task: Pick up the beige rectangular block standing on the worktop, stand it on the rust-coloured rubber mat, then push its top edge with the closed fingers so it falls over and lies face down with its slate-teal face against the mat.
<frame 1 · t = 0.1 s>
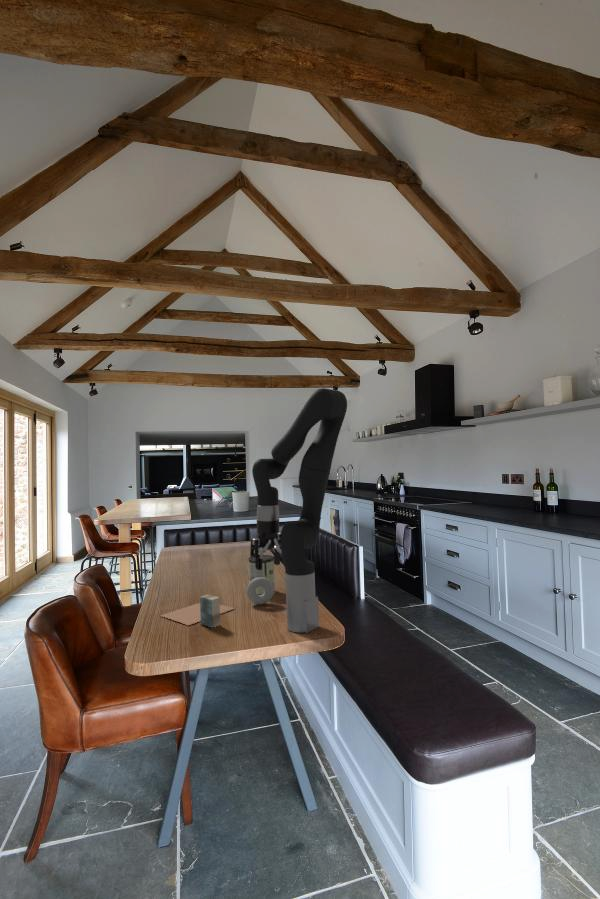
hand: (268, 567, 147), 17 cm above the table, tool pointing down, fingers open, 8 cm apart
beige rectangular block: (210, 625, 144), on the table
mat: (198, 612, 156), on the table
coffee can: (262, 593, 178), on the table
donut: (260, 605, 163), on the table
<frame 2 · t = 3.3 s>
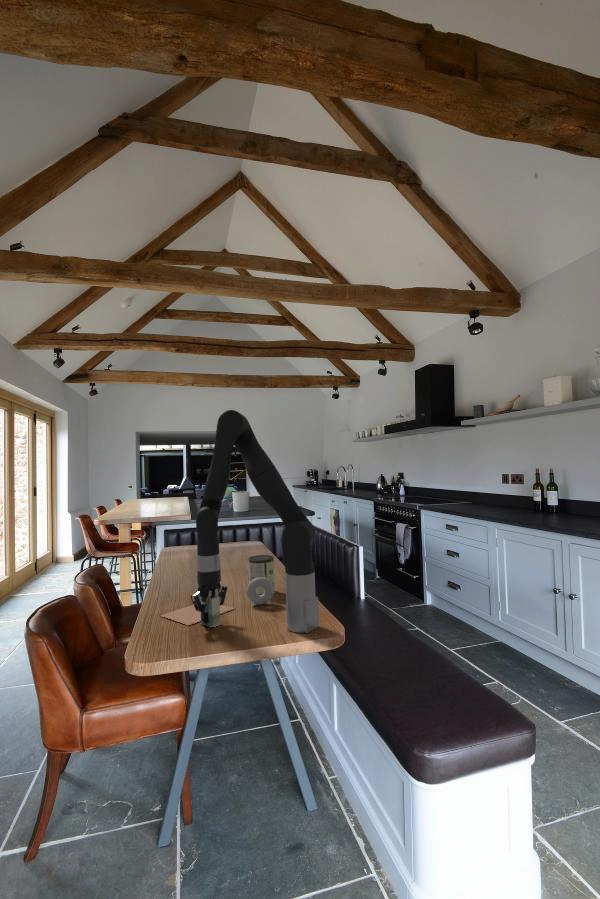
hand: (210, 621, 144), 1 cm above the table, tool pointing down, fingers closed on beige rectangular block, 3 cm apart
beige rectangular block: (210, 624, 144), on the table, touching gripper
everything else where it was.
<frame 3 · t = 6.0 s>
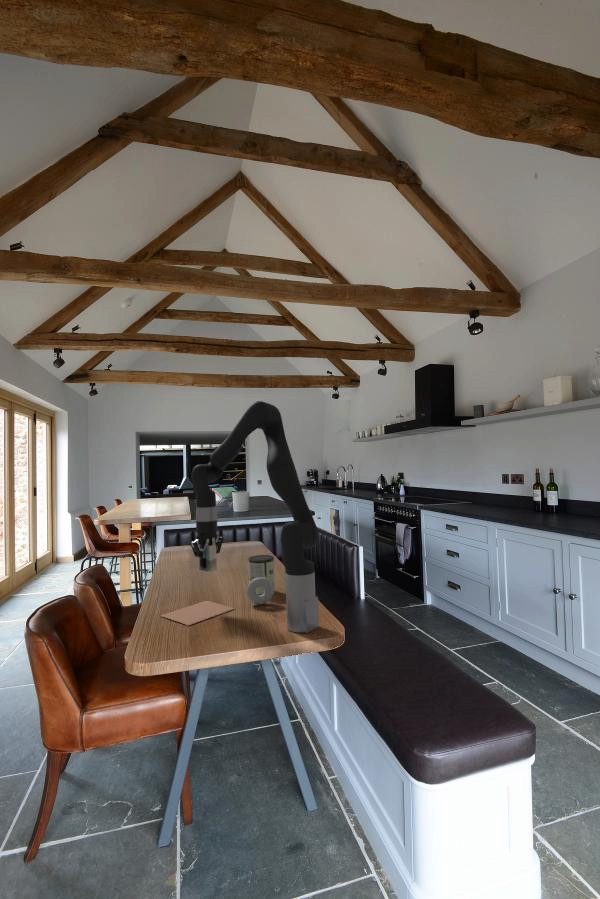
hand: (207, 566, 160), 15 cm above the table, tool pointing down, fingers closed on beige rectangular block, 3 cm apart
beige rectangular block: (208, 570, 160), point 14 cm above the table, touching gripper
everything else where it was.
when the fingers open (3 cm above the table, at t = 8.6 s): beige rectangular block stays where it is, resting on mat.
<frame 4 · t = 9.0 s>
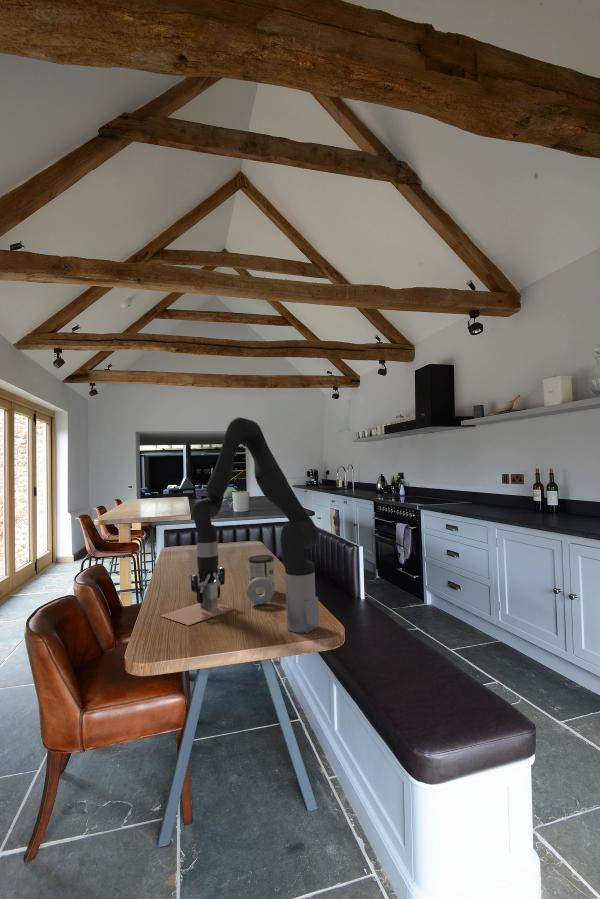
hand: (208, 600, 160), 3 cm above the table, tool pointing down, fingers open, 7 cm apart
beige rectangular block: (209, 607, 159), resting on mat
everything else where it was.
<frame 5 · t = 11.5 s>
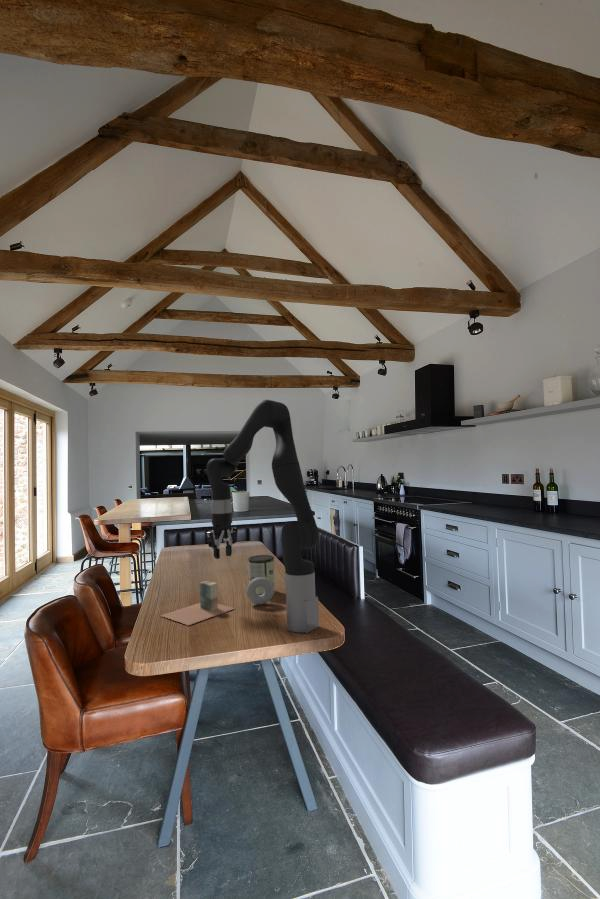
hand: (223, 557, 165), 17 cm above the table, tool pointing down, fingers open, 5 cm apart
nothing on the table moved.
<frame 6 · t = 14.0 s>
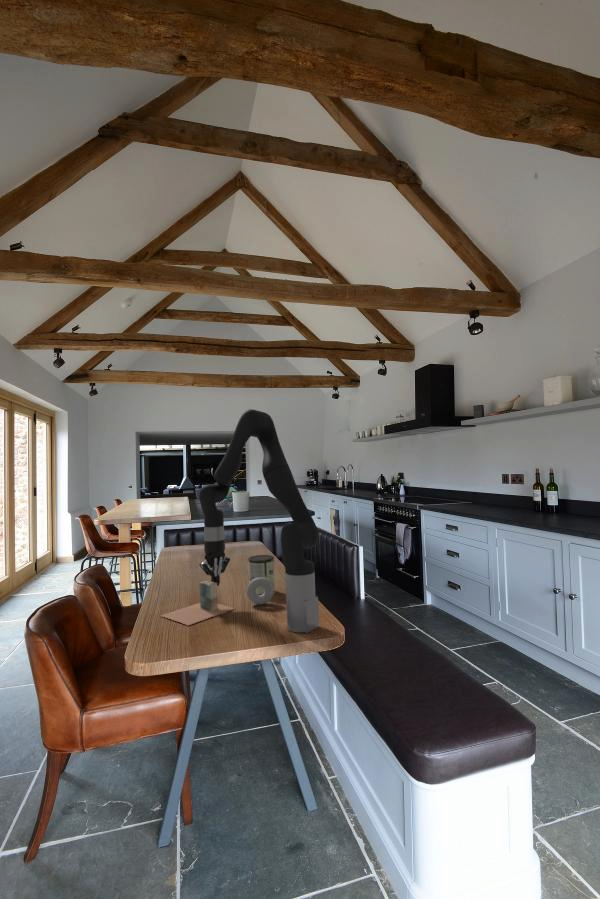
hand: (215, 585, 162), 8 cm above the table, tool pointing down, fingers closed
beige rectangular block: (209, 607, 159), resting on mat, touching gripper
everything else where it was.
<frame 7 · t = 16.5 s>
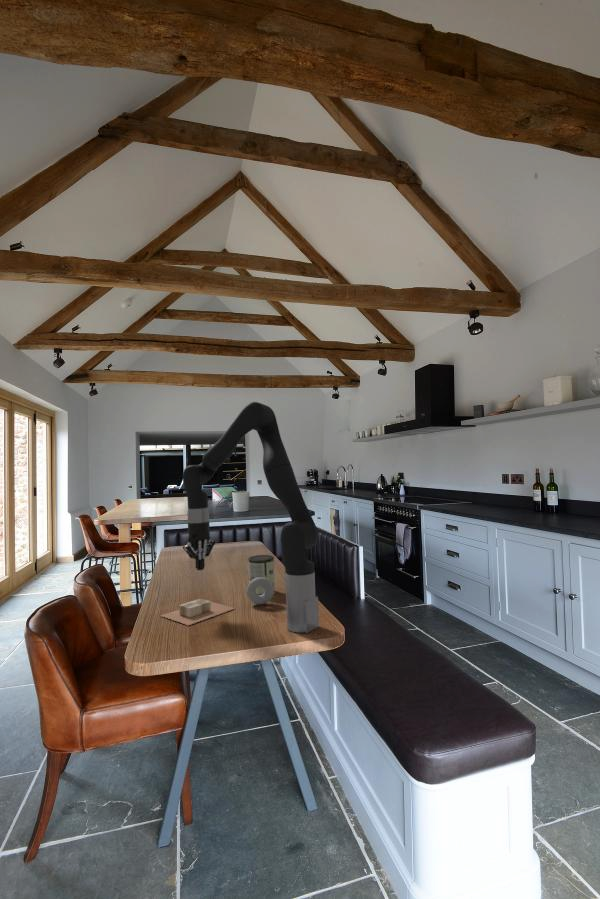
hand: (200, 569, 157), 15 cm above the table, tool pointing down, fingers closed
beige rectangular block: (205, 604, 158), point 2 cm above the table, tilted 90°, touching mat
everything else where it was.
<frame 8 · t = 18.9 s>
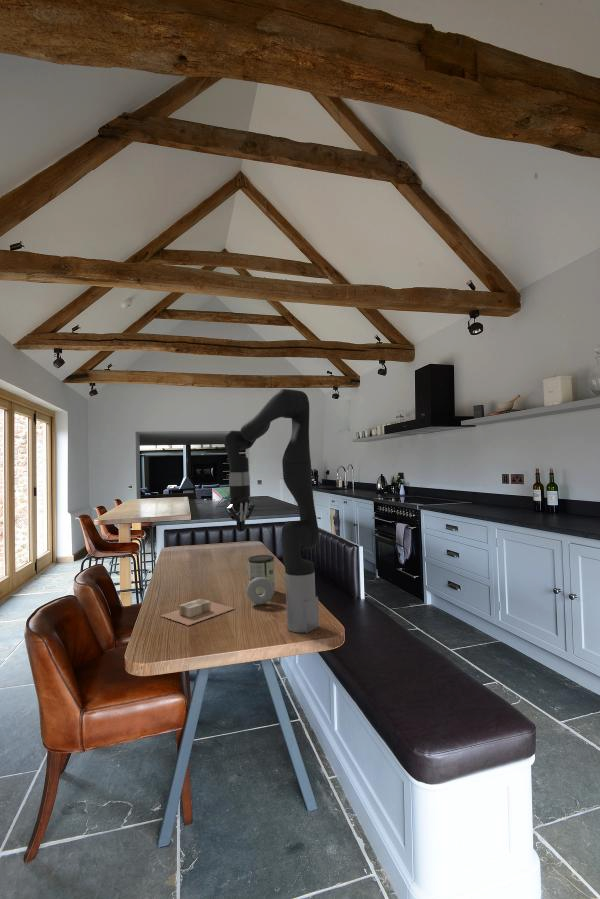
hand: (241, 531, 164), 27 cm above the table, tool pointing down, fingers closed
nothing on the table moved.
at the end: beige rectangular block tilted 90°; beige rectangular block inside the target area on the mat (3.2 cm from its centre), point 2.2 cm above the mat's base; the gripper is holding nothing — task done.
